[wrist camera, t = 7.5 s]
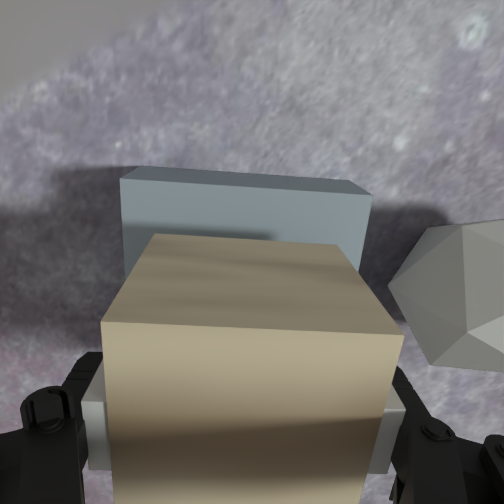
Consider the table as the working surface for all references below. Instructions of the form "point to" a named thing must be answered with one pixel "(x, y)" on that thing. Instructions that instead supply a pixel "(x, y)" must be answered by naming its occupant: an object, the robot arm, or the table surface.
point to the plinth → (241, 209)
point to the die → (456, 295)
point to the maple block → (244, 374)
